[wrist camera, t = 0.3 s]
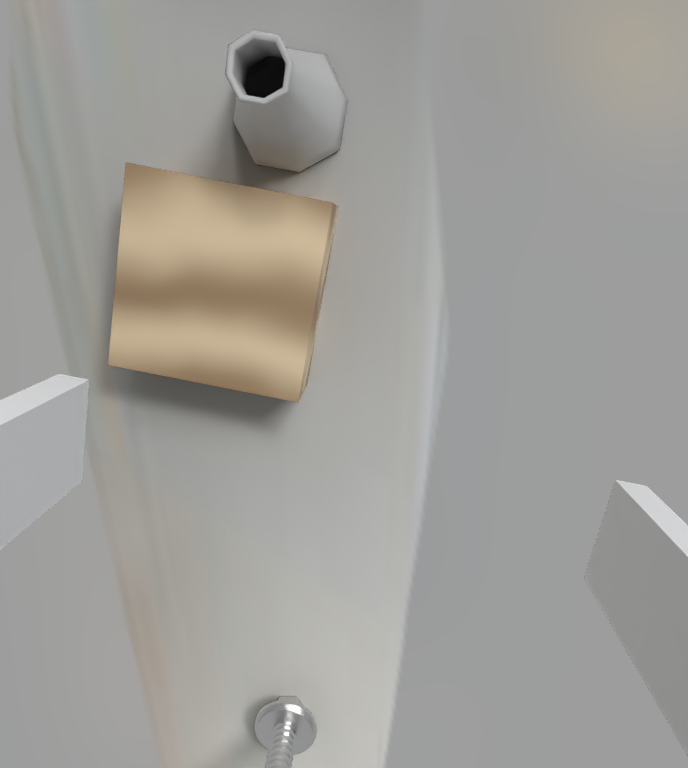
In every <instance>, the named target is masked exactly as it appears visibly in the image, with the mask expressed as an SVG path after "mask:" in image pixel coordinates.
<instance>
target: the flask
mask: <svg viewBox="0 0 688 768" xmlns="http://www.w3.org/2000/svg"><path fill="white" fill-rule="evenodd" d="M225 75H226V77H227V79H228V81H229V83H230V85H231V87H232V89H233V91H234V93H235V95H236V99H235V108H234V116H233V122H234V124H235V126H236V128H237V130H238V132H239V134H240V135H241V137H242V139H243V141H244V143H245V145H246V147H247V149H248V151H249V153H250V155H251V157H252V159H253V161H254V163H255V164H258V165H263V166H269V167H275V168H280V169H286V170H292V171H297V172H300V171H302V170H304V169H306V168H308V167H309V166H311V165H313V164H315V163H317V162H318V161H320V160H322V159H324V158H326V157H327V156H329V155H331V154H333V153H335V152H336V151H338V150H340V146H341V139H342V133H343V127H344V120H345V114H346V108H347V102H348V100H347V98H346V96H345V94H344V91H343V89H342V87H341V85H340V83H339V81H338V79H337V77H336V75H335V72H334V70H333V68H332V66H331V64H330V62H329V60H328V58H327V55H325V54H319V53H314V52H308V51H302V50H296V49H290V48H286V46H285V44H284V42H283V40H282V38H281V36H280V35H277V34H271V33H266V32H260V31H254V30H252V31H250V32H248V33H247V34H245V35H244V36H242V37H240V38H239V39H237V40H235V41H234V42H232V43H230V44H229V45H228V53H227V62H226V71H225Z"/></svg>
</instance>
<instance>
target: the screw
mask: <svg viewBox="0 0 688 768" xmlns="http://www.w3.org/2000/svg"><path fill="white" fill-rule="evenodd" d="M254 730H255V734H256V737H257V739H258V740H259V742H260V743H261V744H262V745H263V746H264V747H265V748H267V749H268V756H267V762H266V764H265V768H291V766H292V763H291V762H292V760H293V756H292V755H294V754H299V753H301V752H303V751H305V750H306V749H308V748H309V747H310V746H311V745H312V744H313V742H314V740H315V738H316V733H317V723H316V720H315V718H314V716H313V715H312V713H311V712H310V711H309V710H308V709H307V708H306V707H304V705H303V704H302V703H301V701H300V700H299V699H298V698H297V696H285V697H279V698H278V700H277V701H274V702H271V703H269V704H267V705H265V706H264V707H263V708H262V709H261V710H260V711H259V713H258V714H257V717H256V720H255V724H254Z"/></svg>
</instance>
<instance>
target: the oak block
mask: <svg viewBox="0 0 688 768" xmlns="http://www.w3.org/2000/svg"><path fill="white" fill-rule="evenodd" d="M338 207H339V206H337V205H336V204H334V203H332V202H327V201H322V200H316V199H311V198H306V197H301V196H296V195H291V194H285V193H280V192H275V191H270V190H265V189H260V188H254V187H249V186H244V185H239V184H234V183H229V182H223V181H218V180H213V179H208V178H203V177H198V176H192V175H187V174H182V173H177V172H172V171H167V170H161V169H156V168H151V167H146V166H141V165H136V164H130V163H126V167H125V179H124V190H123V201H122V213H121V224H120V235H119V247H118V258H117V269H116V281H115V292H114V303H113V315H112V326H111V337H110V349H109V360H108V365H110V366H115V367H120V368H126V369H131V370H136V371H141V372H146V373H151V374H156V375H161V376H166V377H171V378H176V379H181V380H187V381H192V382H197V383H202V384H207V385H212V386H217V387H222V388H227V389H232V390H237V391H242V392H247V393H253V394H258V395H263V396H268V397H273V398H278V399H283V400H288V401H293V402H299V400H300V398H301V396H302V393H303V391H304V389H305V387H306V385H307V382H308V376H309V370H310V365H311V359H312V353H313V348H314V342H315V336H316V331H317V325H318V320H319V314H320V308H321V303H322V297H323V291H324V286H325V280H326V274H327V269H328V263H329V257H330V252H331V246H332V241H333V235H334V229H335V224H336V218H337V212H338Z"/></svg>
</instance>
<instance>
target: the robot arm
mask: <svg viewBox="0 0 688 768" xmlns="http://www.w3.org/2000/svg"><path fill="white" fill-rule="evenodd" d="M88 391H89V379H83V378H78V377H73V376H68V375H62V374H58V375H56V376H53V377H51V378H49V379H46V380H44V381H42V382H40V383H37V384H35V385H33V386H31V387H29V388H26V389H24V390H22V391H20V392H17V393H15V394H13V395H11V396H8V397H6V398H4V399H2V400H0V550H1V549H2V548H3V547H4V546H6V545H7V544H8V543H9V542H10V541H11V540H13V539H14V538H15V537H16V536H17V535H19V534H20V533H21V532H22V531H23V530H25V529H26V528H27V527H28V526H29V525H31V524H32V523H33V522H34V521H35V520H37V519H38V518H39V517H40V516H41V515H43V514H44V513H45V512H46V511H47V510H49V509H50V508H51V507H52V506H53V505H54V504H56V503H57V502H58V501H59V500H60V499H62V498H63V497H64V496H65V495H66V494H68V493H69V492H70V491H71V490H72V489H74V488H75V487H76V486H77V485H78V484H79V483H81V482H82V477H83V462H84V449H85V434H86V420H87V406H88ZM584 579H585V581H586V583H587V584H588V586H589V588H590V590H591V591H592V593H593V595H594V596H595V598H596V600H597V601H598V603H599V605H600V606H601V608H602V610H603V612H604V614H605V615H606V617H607V619H608V620H609V622H610V624H611V626H612V627H613V629H614V631H615V632H616V634H617V636H618V637H619V639H620V641H621V643H622V644H623V646H624V648H625V649H626V651H627V653H628V655H629V656H630V658H631V660H632V661H633V663H634V665H635V667H636V668H637V670H638V672H639V673H640V675H641V677H642V678H643V680H644V682H645V684H646V685H647V687H648V689H649V691H650V692H651V694H652V696H653V697H654V699H655V701H656V703H657V704H658V706H659V708H660V709H661V711H662V713H663V714H664V716H665V718H666V720H667V721H668V723H669V725H670V727H671V728H672V730H673V732H674V733H675V735H676V737H677V738H678V740H679V742H680V744H681V745H682V747H683V749H684V750H685V752H686V754H687V755H688V526H687V524H685V522H684V521H683V520H681V519H680V518H679V517H678V516H677V515H676V514H675V513H674V512H673V511H672V510H671V509H670V508H669V507H668V506H667V505H666V504H665V503H664V502H663V501H662V500H661V499H660V498H659V497H658V496H657V495H655V494H654V493H653V492H652V491H651V490H650V489H649V488H648V487H647V486H645V485H639V484H634V483H629V482H623V481H618V480H615V483H614V486H613V489H612V492H611V495H610V498H609V501H608V504H607V507H606V511H605V514H604V517H603V520H602V523H601V526H600V529H599V532H598V536H597V538H596V542H595V544H594V548H593V551H592V554H591V557H590V560H589V563H588V566H587V569H586V572H585V575H584Z"/></svg>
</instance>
